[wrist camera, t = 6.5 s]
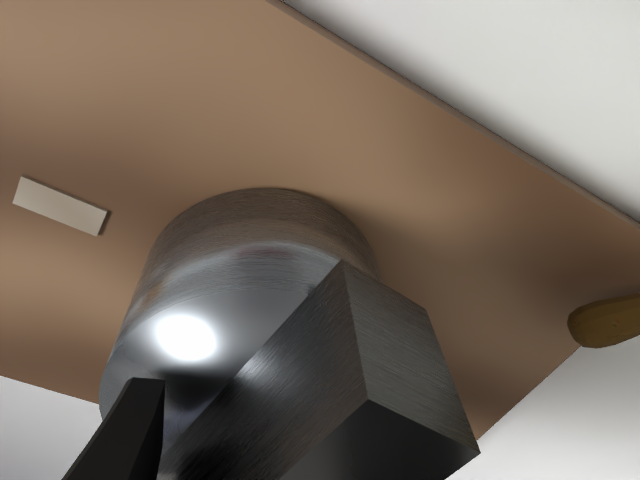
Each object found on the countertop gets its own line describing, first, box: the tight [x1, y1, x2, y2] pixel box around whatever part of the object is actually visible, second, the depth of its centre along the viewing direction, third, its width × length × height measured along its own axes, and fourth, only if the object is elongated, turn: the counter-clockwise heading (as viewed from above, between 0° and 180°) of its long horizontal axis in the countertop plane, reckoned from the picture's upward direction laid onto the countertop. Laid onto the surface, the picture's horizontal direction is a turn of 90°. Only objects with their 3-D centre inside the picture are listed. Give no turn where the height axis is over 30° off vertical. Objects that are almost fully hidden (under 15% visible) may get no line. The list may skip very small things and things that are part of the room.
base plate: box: [0, 0, 640, 441], centre depth 15 cm, size 13×20×2 cm, turn 60°
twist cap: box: [99, 188, 481, 480], centre depth 11 cm, size 6×8×7 cm
